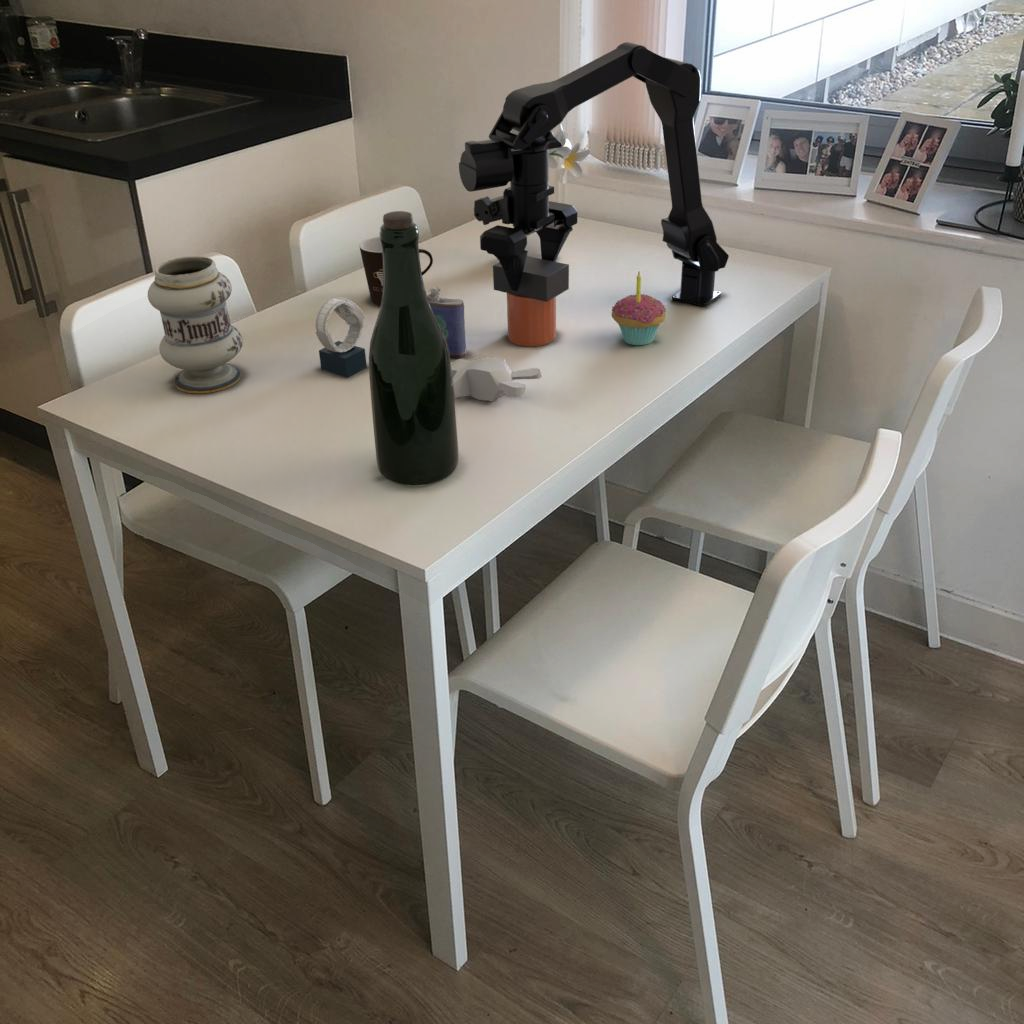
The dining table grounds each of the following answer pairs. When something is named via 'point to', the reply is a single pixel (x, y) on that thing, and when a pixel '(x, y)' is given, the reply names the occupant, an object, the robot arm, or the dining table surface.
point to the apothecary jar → (196, 323)
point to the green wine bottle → (410, 368)
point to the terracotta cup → (531, 320)
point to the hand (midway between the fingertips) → (530, 281)
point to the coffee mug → (378, 267)
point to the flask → (450, 321)
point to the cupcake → (638, 316)
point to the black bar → (536, 279)
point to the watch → (340, 354)
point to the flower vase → (567, 164)
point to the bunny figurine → (489, 378)
